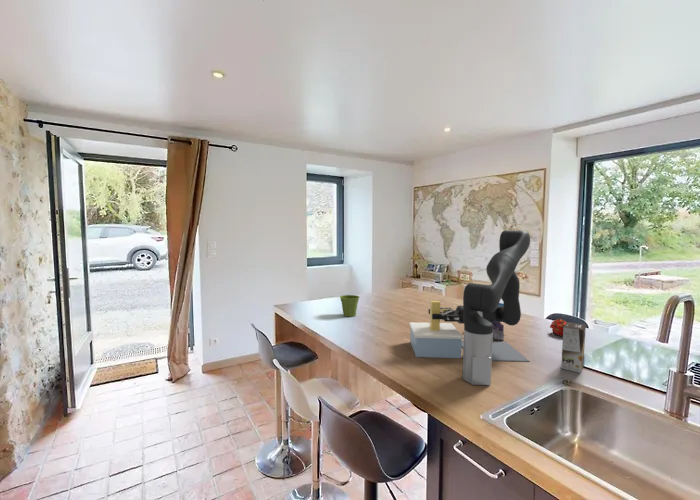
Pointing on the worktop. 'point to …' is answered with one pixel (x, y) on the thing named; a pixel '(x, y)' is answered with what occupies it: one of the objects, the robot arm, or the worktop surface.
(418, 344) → the tub
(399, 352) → the worktop surface
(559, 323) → the dragon fruit
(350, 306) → the plant pot
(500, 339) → the geode
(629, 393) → the worktop surface
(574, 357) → the coffee box
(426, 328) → the lid
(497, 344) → the mat
